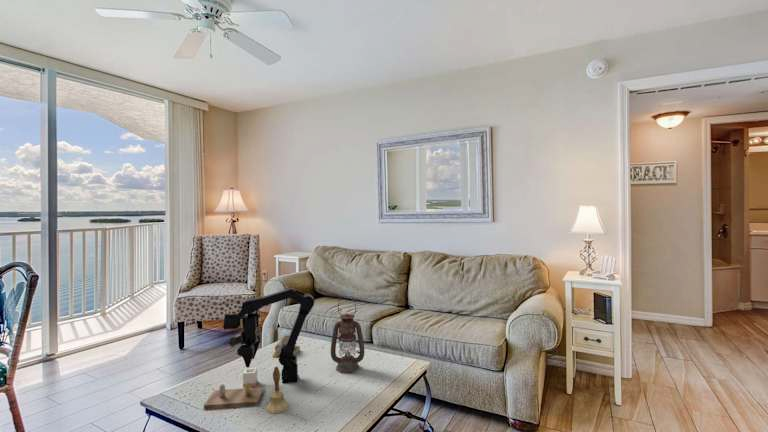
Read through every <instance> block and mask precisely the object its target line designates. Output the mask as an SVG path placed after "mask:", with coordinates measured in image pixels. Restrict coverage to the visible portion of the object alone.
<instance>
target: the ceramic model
mask: <svg viewBox="0 0 768 432" xmlns="http://www.w3.org/2000/svg"><path fill="white" fill-rule="evenodd" d="M289 335H290V334H289ZM289 335H287V334H286V335H283V337H282V338H281V339H280V340H279V341H278V343H277V344H276V345H275V346H274V349H275V351H274V352H273V354H272V357H273V358H278V359H279V357H278V353H279V350H280V349H281V345H282V343H283V344H285V343H286V342H287V340H288V338H289ZM296 344H297V342H296ZM296 344H295V347H294V353H293V355H295V356H296V355H297V354H298V353H299V352H300V346H299V345H296Z"/></svg>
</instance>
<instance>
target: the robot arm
mask: <svg viewBox="0 0 768 432" xmlns="http://www.w3.org/2000/svg"><path fill="white" fill-rule="evenodd" d="M287 299H291V300H293V301H294V302H295V303H297V304H299V308H298V312H297V315H296V317H295V320H294V323H293V326H292V327H291V330H290V333H289V338H288V340H287V342H286V343H285V344H283V343H282V345H281V349H280V350H279V353H278V357H279V358H278V362H279V365H282V369H281V380H282V381H281V383H282V384H285V383H297V382H298V379H299V368H298V367H299V366H298V359H297V358H298V357H297V356H296V354H295V355H293V353H294V347H295V345H296V343H297V341H298V338H299V336H300V333H301V331H302V328H303V326H304V323H305V321H306V318H307V316H308V315H309V313H310V312H311V310H312V309H313V307H314V306H315V299H314V296H313V295H312V294H311V293H305V292H302V291H301V290H297V289H295V288H293V287H288V288H287V289H284V290H281V291H277V292H273V293H270V294H267V295H264V296H254V297H247V298H245V300H244V301H243V302H242V305H241V309H239V311H238V312H236V313H225V314H224V319H223V320H224V321H223V330H224V331H229V330H230V331H231V330H238V329H240V327H241V326H242V331H241V332H240V333H238V334H235V335H232V336H231V337H230V338H229V339H228V345H230V347H235V346H237V345H238V344H240V346H239V347H237V348H238V349H237V350H236V352H237V353H236V354H237V355H238V356H239V357H242V359H243V360H244V364H245V367H246V369H247V368H250V366H251V362H252V360H254V359H255V357H256V354H257V352H258V349H259V346H260V345H261V341H262V334H261V333H260V332H259V333H257V332H258V327H257V318H261V315H262V314H261V313H260V312H259V310H260V309H261V308H264V307H266V306H268V305H272V304H274V303H278V302H281V301H286V300H287Z"/></svg>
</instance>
